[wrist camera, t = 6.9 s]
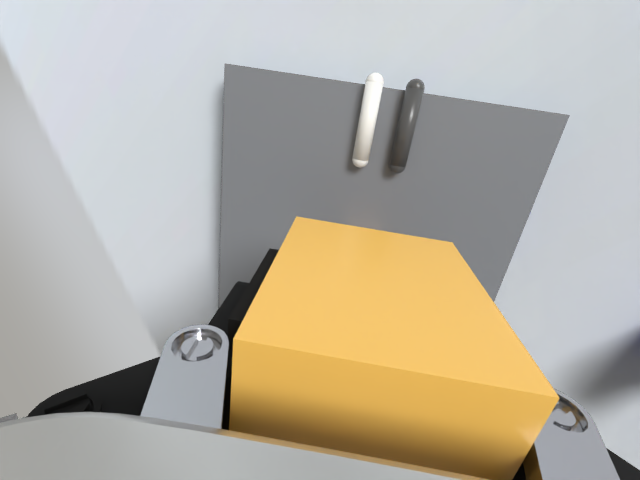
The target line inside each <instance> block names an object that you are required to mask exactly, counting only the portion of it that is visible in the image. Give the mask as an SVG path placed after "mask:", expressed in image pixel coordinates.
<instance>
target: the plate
mask: <svg viewBox="0 0 640 480" xmlns="http://www.w3.org/2000/svg"><path fill="white" fill-rule="evenodd" d="M383 83H384V80H383V77H382V76H381V75H380V74H379V73H372V74H370V75H369V76H368V77H367V79H366V83H365V84H358V83H351V82H345V81H338V80H331V79H325V78H318V77H311V76H305V75H298V74H291V73H285V72H278V71H271V70H265V69H258V68H251V67H245V66H238V65H231V64H225V70H224V109H223V148H222V188H221V227H220V266H219V305H218V309H219V308H220V306H221V305H222V303H223V302H224V300H225V299H226V297H227V296H228V294H229V293H230V291H231V290H232V288H233V287H234V285H235V284H236V282H237V281H241V282H247V283H250V281H251V279H252V278H253V276H254V274H255V272H256V271H257V269H258V267H259V266H260V264H261V262H262V260H263V259H264V257H265V255H266V254H267V252H268V250H269V249H270V248H271V249H277V250H279V249H280V247H281V245H282V243H283V242H284V240H285V238H286V236H287V234H288V232H289V230H290V228H291V226H292V224H293V222H294V220H295V218H296V216H297V217H303V218H309V219H315V220H321V221H327V222H333V223H339V224H345V225H351V226H357V227H363V228H369V229H375V230H381V231H387V232H393V233H399V234H405V235H411V236H417V237H423V238H429V239H435V240H441V241H447V242H452V243H453V244H454V245H455V247H456V248H457V250H458V251H459V253H460V254H461V256H462V257H463V259H464V260H465V261H466V263H467V264H468V266H469V267H470V269H471V270H472V272H473V273H474V274H475V276H476V277H477V279H478V280H479V282H480V283H481V285H482V286H483V287H484V289H485V290H486V292H487V293H488V295H489V296H490V298H491V299H492V301H493V302H494V300H495V298H496V295H497V293H498V290H499V288H500V286H501V283H502V281H503V278H504V276H505V273H506V271H507V268H508V266H509V263H510V261H511V258H512V256H513V253H514V251H515V249H516V246H517V244H518V241H519V239H520V236H521V234H522V231H523V229H524V226H525V224H526V221H527V219H528V217H529V214H530V212H531V209H532V207H533V204H534V202H535V199H536V197H537V194H538V192H539V189H540V187H541V185H542V182H543V180H544V177H545V175H546V172H547V170H548V167H549V165H550V162H551V160H552V157H553V155H554V152H555V150H556V148H557V145H558V143H559V140H560V138H561V135H562V133H563V130H564V128H565V125H566V123H567V120H568V118H569V116H570V115H565V114H558V113H551V112H545V111H538V110H531V109H525V108H518V107H511V106H505V105H498V104H491V103H485V102H478V101H471V100H465V99H458V98H451V97H445V96H438V95H431V94H425V93H424V83H423V82H422V81H421V80H420V79H413V80H411V81H410V82H409V83H408V84H407V86H406V90H398V89H391V88H385V87H383Z"/></svg>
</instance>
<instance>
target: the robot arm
mask: <svg viewBox="0 0 640 480" xmlns="http://www.w3.org/2000/svg"><path fill="white" fill-rule="evenodd" d="M278 251H279V250H277V249H271V248H270V249H269V250H268V252H267V254H266V255H265V257H264V259H263V260H262V262H261V264H260V266H259V267H258V269H257V271H256V272H255V274H254V276H253V278H252V279H251V281H250V283H247V282H241V281H237V282H236V284H235V285H234V287H233V288H232V290H231V291H230V293H229V294H228V296H227V297H226V299H225V300H224V302H223V303H222V305H221V306H220V308H219V309H218V311H217V312H216V314H215V315H214V317H213V318H212V320H211V321H210V323H209V324H208V325H202V324H201V325H192V326H188V327H185V328H182V329H180V330H178V331H176V332H175V333H174V334H172V335H171V336H170V337H169V338H168V340H167V341H166V343H165V345H164V348H163V351H162V354H161V357H158V358H155V359H152V360H149V361H146V362H143V363H141V364H138V365H135V366H132V367H129V368H126V369H124V370H121V371H118V372H115V373H112V374H109V375H106V376H104V377H101V378H97V379H95V380H92V381H89V382H86V383H83V384H80V385H78V386H75V387H72V388H69V389H66V390H63V391H61V392H59V393H57V394H55V395H52V396H51V397H49V398H47V399H46V400H45V401H43V402H41V403H40V404H39V405H38V406H37V407H36V408H34V409H33V410H32V411H31V412H30V413H29V415H28V416H27V417H23V418H20V419H18V417H17V414H16V413H15V414H12V415H9V416H5V417H2V418H0V480H489V479H484V478H479V477H474V476H469V475H464V474H458V473H453V472H448V471H443V470H438V469H432V468H427V467H422V466H417V465H412V464H406V463H401V462H396V461H391V460H385V459H380V458H375V457H370V456H364V455H359V454H354V453H349V452H343V451H338V450H333V449H327V448H322V447H317V446H311V445H306V444H300V443H295V442H290V441H284V440H279V439H273V438H268V437H263V436H257V435H252V434H246V433H241V432H236V431H230V430H229V421H230V399H231V377H232V356H233V338H234V337H235V335H236V333H237V331H238V329H239V327H240V325H241V323H242V321H243V319H244V317H245V315H246V313H247V311H248V309H249V307H250V306H251V304H252V302H253V300H254V298H255V296H256V294H257V292H258V290H259V288H260V286H261V284H262V282H263V280H264V278H265V276H266V274H267V273H268V271H269V269H270V267H271V265H272V263H273V261H274V259H275V257H276V255H277V253H278ZM553 389H554V388H553ZM554 390H555V392H556V393H557V395H558V396H559V398H560V399H559V400H558V402H557V404H556V405H555V407H554V409H553V411H552V412H551V414H550V416H549V417H548V419H547V421H546V423H545V424H544V426H543V428H542V429H541V431H540V433H539V435H538V436H537V438H536V440H535V441H534V443H533V445H532V447H531V448H530V450H529V452H528V453H527V455H526V457H525V459H524V460H523V462H522V464H521V466H520V467H519V469H518V471H517V472H516V474H515V476H514V478H513V479H512V480H640V470H638V469H637V468H635V467H634V466H632V465H631V464H629V463H628V462H626V461H625V460H623V459H622V458H620V457H619V456H617V455H616V454H614V453H613V452H611V451H610V450H608V449H607V448H606V447H605V444H604V442H603V440H602V438H601V435H600V433H599V431H598V429H597V426H596V424H595V422H594V421H593V419H592V417H591V416H590V414H589V413H588V412H587V411H586V410H585V409H584V408H583V407H582V406H581V405H580V404H579V403H577V402H576V401H575V400H574V399H572V398H571V397H569V396H567V395H566V394H564V393H562V392H561V391H558V390H556V389H554Z"/></svg>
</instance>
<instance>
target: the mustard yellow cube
mask: <svg viewBox="0 0 640 480" xmlns="http://www.w3.org/2000/svg"><path fill="white" fill-rule="evenodd" d="M559 399H560V398H559V396H558V395H557V393H556V392H555V390H554V389H553V387H552V386H551V385H550V383H549V382H548V380H547V379H546V377H545V376H544V374H543V373H542V371H541V370H540V369H539V367H538V366H537V364H536V363H535V361H534V360H533V358H532V357H531V356H530V354H529V353H528V351H527V350H526V348H525V347H524V345H523V344H522V343H521V341H520V340H519V338H518V337H517V335H516V334H515V332H514V331H513V329H512V328H511V327H510V325H509V324H508V322H507V321H506V319H505V318H504V316H503V315H502V314H501V312H500V311H499V309H498V308H497V306H496V305H495V303H494V302H493V301H492V299H491V298H490V296H489V295H488V293H487V292H486V290H485V289H484V287H483V286H482V285H481V283H480V282H479V280H478V279H477V277H476V276H475V274H474V273H473V272H472V270H471V269H470V267H469V266H468V264H467V263H466V261H465V260H464V259H463V257H462V256H461V254H460V253H459V251H458V250H457V248H456V247H455V245H454V244H453V243H452V242H447V241H441V240H435V239H429V238H423V237H417V236H411V235H405V234H399V233H393V232H387V231H381V230H375V229H369V228H363V227H357V226H351V225H345V224H339V223H333V222H327V221H321V220H315V219H309V218H303V217H297V216H296V218H295V220H294V222H293V224H292V226H291V228H290V230H289V232H288V234H287V236H286V238H285V240H284V242H283V243H282V245H281V247H280V249H279V251H278V253H277V255H276V257H275V259H274V261H273V263H272V265H271V267H270V269H269V271H268V273H267V274H266V276H265V278H264V280H263V282H262V284H261V286H260V288H259V290H258V292H257V294H256V296H255V298H254V300H253V302H252V304H251V306H250V307H249V309H248V311H247V313H246V315H245V317H244V319H243V321H242V323H241V325H240V327H239V329H238V331H237V333H236V335H235V337H234V338H233V356H232V377H231V399H230V421H229V430H230V431H236V432H241V433H246V434H252V435H257V436H263V437H268V438H273V439H279V440H284V441H290V442H295V443H300V444H306V445H311V446H317V447H322V448H327V449H333V450H338V451H343V452H349V453H354V454H359V455H364V456H370V457H375V458H380V459H385V460H391V461H396V462H401V463H406V464H412V465H417V466H422V467H427V468H432V469H438V470H443V471H448V472H453V473H458V474H464V475H469V476H474V477H479V478H484V479H489V480H512V479H513V478H514V476H515V474H516V472H517V471H518V469H519V467H520V466H521V464H522V462H523V460H524V459H525V457H526V455H527V453H528V452H529V450H530V448H531V447H532V445H533V443H534V441H535V440H536V438H537V436H538V435H539V433H540V431H541V429H542V428H543V426H544V424H545V423H546V421H547V419H548V417H549V416H550V414H551V412H552V411H553V409H554V407H555V405H556V404H557V402H558V400H559Z"/></svg>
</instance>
